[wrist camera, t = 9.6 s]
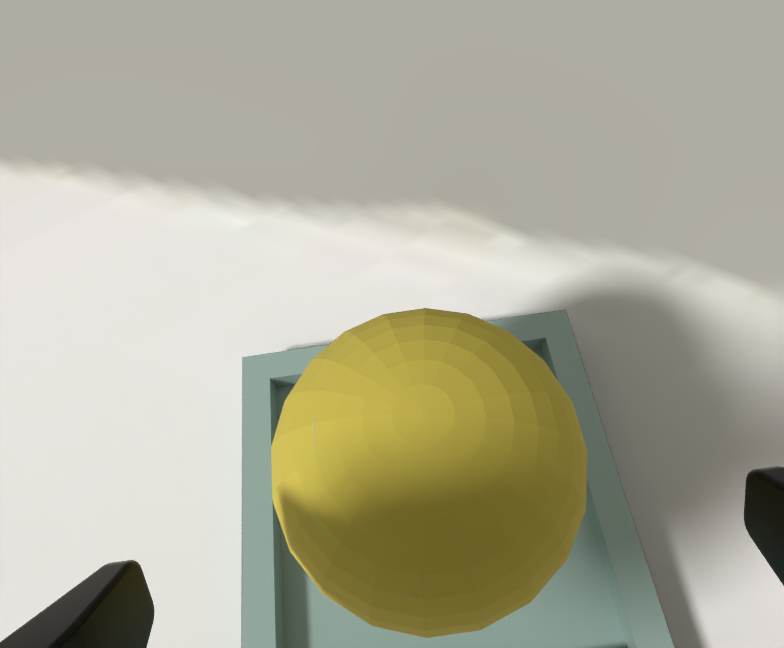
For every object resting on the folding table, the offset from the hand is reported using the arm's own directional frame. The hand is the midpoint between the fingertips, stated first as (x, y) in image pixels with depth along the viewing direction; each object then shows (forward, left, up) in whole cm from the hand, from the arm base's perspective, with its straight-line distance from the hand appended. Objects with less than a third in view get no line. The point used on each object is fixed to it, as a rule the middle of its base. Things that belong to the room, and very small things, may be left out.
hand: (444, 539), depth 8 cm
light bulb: (+2, 0, -10) cm, 10 cm away
